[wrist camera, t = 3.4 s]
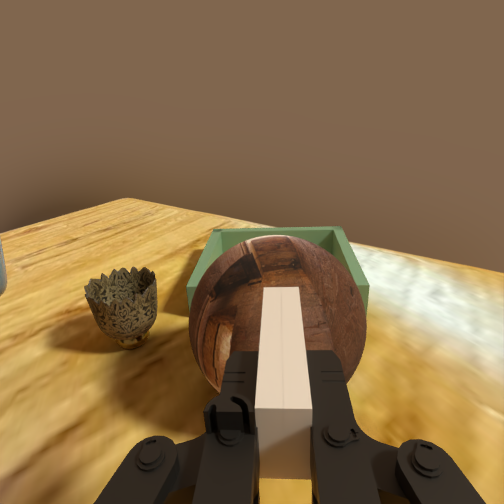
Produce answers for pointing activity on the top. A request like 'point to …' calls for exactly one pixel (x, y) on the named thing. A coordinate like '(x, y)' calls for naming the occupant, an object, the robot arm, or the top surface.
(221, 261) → the wooden sphere
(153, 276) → the cup
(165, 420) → the top surface
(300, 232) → the green bracket
